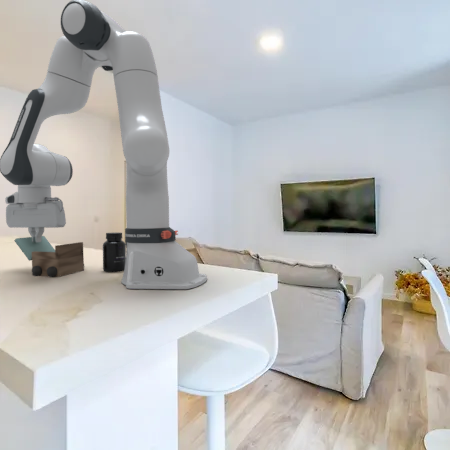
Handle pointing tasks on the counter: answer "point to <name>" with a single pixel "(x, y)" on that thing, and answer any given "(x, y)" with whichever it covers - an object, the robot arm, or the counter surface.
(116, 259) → the supplement bottle
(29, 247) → the panel
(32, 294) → the counter surface
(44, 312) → the counter surface
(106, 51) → the robot arm
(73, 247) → the cart
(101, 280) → the counter surface
